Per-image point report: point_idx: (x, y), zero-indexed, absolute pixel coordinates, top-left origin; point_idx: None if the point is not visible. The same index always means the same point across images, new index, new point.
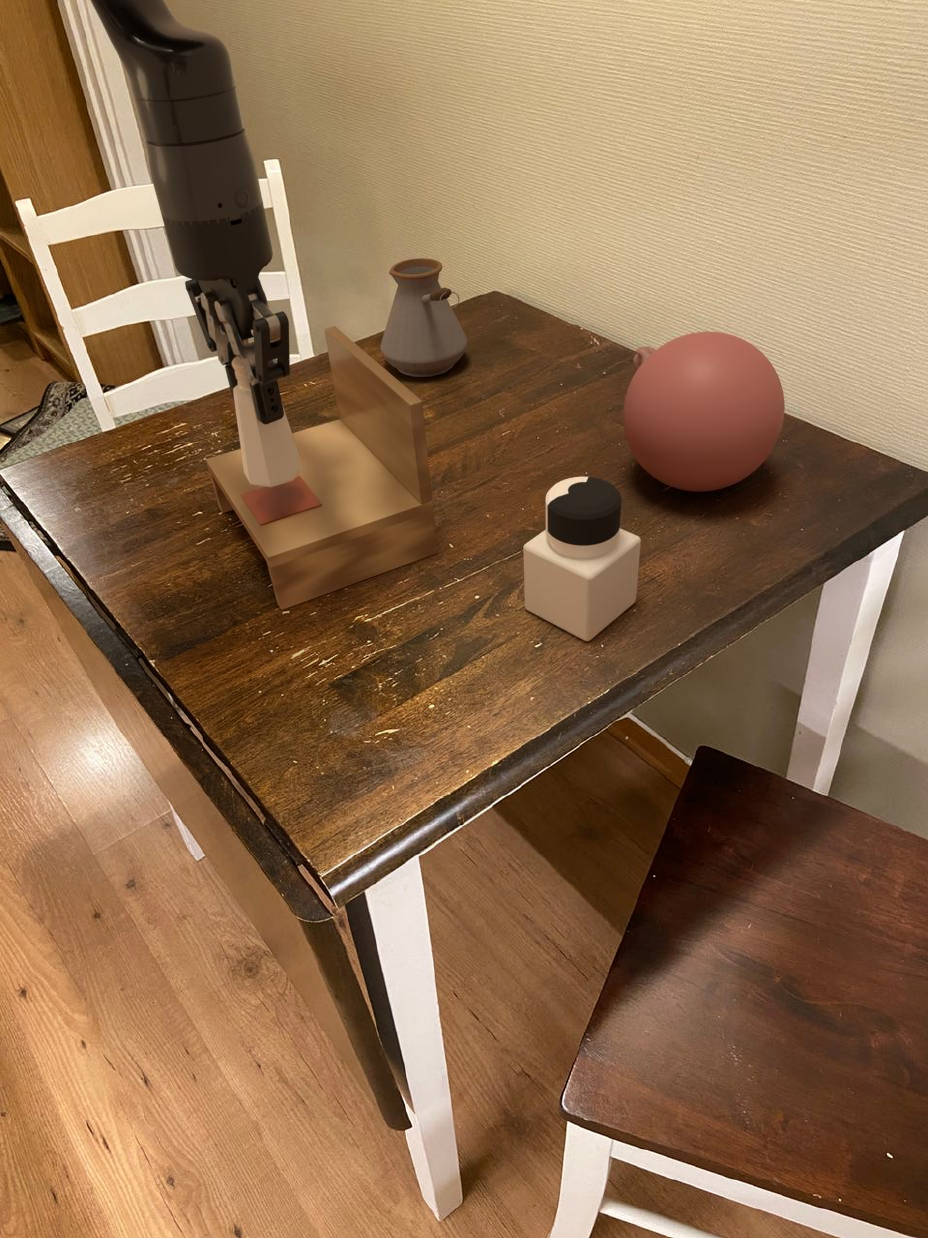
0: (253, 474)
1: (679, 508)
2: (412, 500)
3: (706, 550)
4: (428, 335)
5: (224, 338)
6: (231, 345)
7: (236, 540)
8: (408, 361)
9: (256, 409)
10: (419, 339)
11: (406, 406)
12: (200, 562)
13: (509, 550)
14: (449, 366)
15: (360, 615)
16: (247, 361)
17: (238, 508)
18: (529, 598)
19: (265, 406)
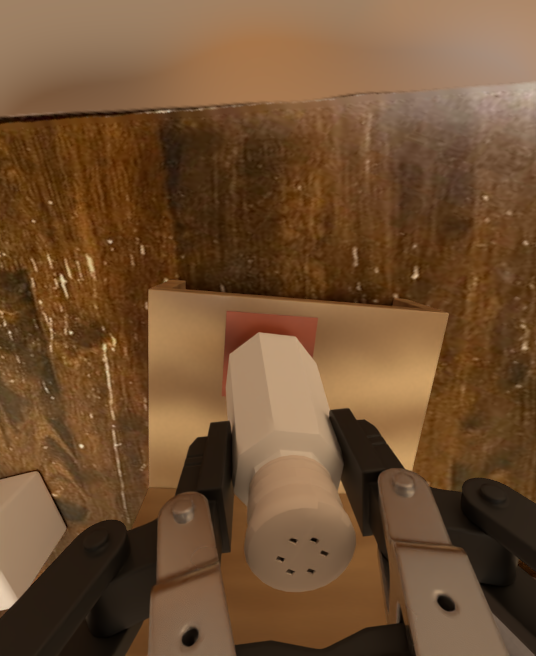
0: (252, 344)
1: None
2: (163, 483)
3: None
4: (511, 652)
5: (394, 582)
6: (223, 606)
7: (329, 290)
8: None
9: (220, 437)
10: (514, 639)
11: None
12: (316, 237)
13: (132, 502)
14: None
15: (116, 344)
16: (163, 571)
17: (289, 302)
18: (18, 483)
19: (188, 460)
